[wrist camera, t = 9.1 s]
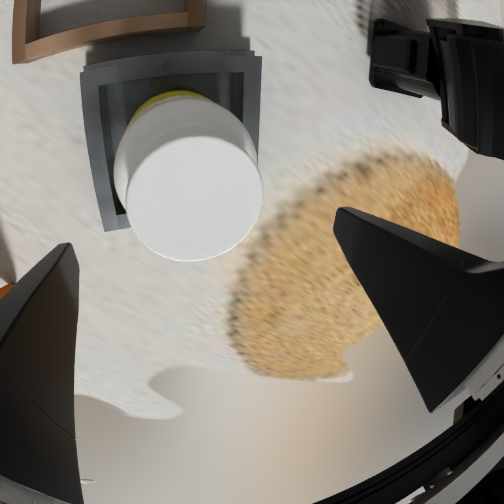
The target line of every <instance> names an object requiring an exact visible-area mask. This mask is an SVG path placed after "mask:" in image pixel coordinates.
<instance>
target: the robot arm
mask: <svg viewBox="0 0 504 504" xmlns="http://www.w3.org/2000/svg"><path fill="white" fill-rule="evenodd" d="M380 22H381V24H382V25H380ZM426 22H427V26H429V29H430V32H421V31H413V30H410V29H408V28H405V27H403V26H401V25H398V24H395V23H393V22H390V21H388V20H385V19H381V18H379V19H376V20H375V26H374V43H373V56H372V68H371V78H370V84H371V86H372V87H374V88H379V89H384V90H388V91H393V92H397V93H401V94H406V95H410V96H414V97H417V98H422V97H423V96H427V97H430V98H433V99H436V100H439V101H441V108H442V119H441V123H442V126H443V127H444V128H445V129H447V130H448V131H449V132H450V133H452V134H453V135H454V136H455V137H456V138H457V139H458V140H459V141H460V142H462V143H464V144H465V145H466V146H467V147H468V148H470V149H471V150H473V151H474V152H475V153H477V154H481V155H485V156H489V157H496V158H499V159H502V160H504V28H502V27H499V26H496V25H493V24H489V23H486V22H481V21H474V20H466V19H426ZM376 80H377V84H376V83H375V82H376ZM333 232H334V235H335V237H336V239H337V241H338V243H339V245H340V247H341V249H342V251H343V253H344V255H345V257H346V259H347V261H348V263H349V265H350V267H351V269H352V270H353V272H354V274H355V275H356V277H357V279H358V280H359V282H360V283H361V285H362V287H363V289H364V290H365V292H366V294H367V295H368V297H369V299H370V300H371V302H372V304H373V306H374V307H375V309H376V311H377V313H378V314H379V316H380V318H381V320H382V321H383V323H384V325H385V327H386V329H387V330H388V332H389V334H390V336H391V338H392V339H393V341H394V343H395V345H396V347H397V349H398V351H399V352H400V354H401V356H402V358H403V360H404V362H405V364H406V366H407V368H408V370H409V372H410V374H411V376H412V378H413V380H414V382H415V384H416V386H417V388H418V390H419V392H420V394H421V396H422V398H423V400H424V403H425V405H426V407H427V409H428V411H429V412H430V413H433V412H434V411H436V410H437V409H438V408H440V407H441V406H442V405H444V404H446V403H447V402H448V401H450V400H451V399H453V398H454V397H455V396H457V395H458V394H459V393H460V392H462V391H463V390H465V389H466V388H467V390H468V391H469V393H470V394H471V396H470V397H469V398H468V399H466V400H465V401H464V402H463V403H462V404H461V405H459V406H458V407H457V408H456V409H455V413H454V421H453V425H452V426H451V427H450V428H448V429H447V430H446V431H444V432H443V433H442V434H441V435H439V436H438V437H436V438H435V439H433V440H432V441H431V442H429V443H428V444H426V445H425V446H423V447H422V448H420V449H419V450H417V451H416V452H414V453H413V454H411V455H409V456H408V457H407V458H405V459H403V460H401V461H400V462H398V463H396V464H395V465H393V466H391V467H389V468H388V469H386V470H384V471H382V472H381V473H379V474H377V475H375V476H373V477H371V478H369V479H367V480H365V481H363V482H361V483H359V484H357V485H355V486H353V487H351V488H349V489H346V490H344V491H342V492H340V493H338V494H335V495H333V496H331V497H328V498H326V499H323V500H321V501H318V502H316V503H313V504H395V503H397V502H399V501H400V500H401V499H403V498H405V497H406V496H408V495H410V494H411V493H413V492H414V491H416V490H417V489H419V488H420V487H421V486H423V487H424V489H425V492H423V493H422V494H419V495H417V496H415V497H414V498H412V499H411V501H412V502H411V503H409V504H504V261H503V262H493V261H489V260H486V259H483V258H481V257H478V256H476V255H473V254H471V253H468V252H465V251H463V250H460V249H458V248H455V247H453V246H450V245H448V244H445V243H443V242H441V241H438V240H436V239H433V238H430V237H428V236H426V235H423V234H421V233H418V232H416V231H413V230H411V229H408V228H406V227H403V226H401V225H398V224H395V223H393V222H390V221H387V220H385V219H382V218H379V217H377V216H374V215H371V214H368V213H366V212H363V211H360V210H357V209H354V208H351V207H339V208H338V209H337V211H336V216H335V221H334V226H333ZM79 272H80V270H79V264H78V261H77V258H76V255H75V252H74V249H73V246H72V244H71V243H62V244H59V245H57V246H56V247H55V248H54V249H53V250H52V251H51V252H49V253H48V254H47V255H46V256H45V257H44V258H43V259H42V260H40V261H39V262H38V263H37V264H36V265H35V266H34V267H33V268H32V269H31V270H30V271H29V272H27V273H26V274H25V275H24V276H23V277H22V278H21V279H20V280H19V281H18V282H17V283H16V284H15V285H14V286H13V287H12V288H11V289H10V290H9V291H8V292H7V293H6V294H5V295H4V296H3V297H2V298H1V299H0V504H84V501H83V495H82V489H81V482H80V475H79V468H78V459H77V448H76V440H75V438H76V437H75V419H74V365H75V346H76V333H77V322H78V311H79Z"/></svg>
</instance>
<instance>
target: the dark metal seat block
mask: <svg viewBox="0 0 504 504" xmlns="http://www.w3.org/2000/svg"><path fill="white" fill-rule="evenodd" d="M254 53H255V51H249V50H201V51H182V52H169V53H158V54H149V55H142V56H134V57H128V58H121V59H116V60H110V61H105V62H100V63H95V64H90V65H86V66H83V67H84V72H80V84H81V97H82V108H83V117H84V126H85V133H86V141H87V147H88V154H89V160H90V166H91V171H92V177H93V182H94V187H95V192H96V197H97V201H98V206H99V210H100V214H101V219H102V223H103V227H104V231H105V232H106V231H112V230H118V229H125V228H131V226H130V223H129V220H128V217H127V213H126V210H125V208H124V207H123V205H122V203H121V201H120V199H119V197H118V194H117V192H116V188H115V183H114V162H115V157H116V152H117V149H118V146H119V143H120V141H121V139H122V137H123V135H124V133H125V130H126V128H127V126H128V124H129V122H130V120H131V119H132V117H133V115H134V113H135V112H136V111H137V109H138V108H139V107H140V106H141V105H142V104H143V103H144V102H145V101H146V100H147V99H149V98H150V97H152V96H153V95H155V94H157V93H160V92H163V91H166V90H172V89H184V90H190V91H194V92H196V93H199V94H201V95H203V96H205V97H206V98H208V99H210V100H211V101H213V102H215V103H217V104H218V105H220V106H222V107H223V108H225V109H226V110H228V111H229V112H231V113H232V114H233V115H234V116H235V117H237V118H238V119H239V121H240V122H241V123H242V124H243V125H244V126H245V128H246V129H247V131H248V132H249V134H250V136H251V138H252V141H253V143H254V146H255V150H256V153H257V167H258V143H259V119H260V94H261V69H262V56H254Z"/></svg>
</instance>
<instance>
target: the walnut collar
mask: <svg viewBox="0 0 504 504" xmlns="http://www.w3.org/2000/svg"><path fill="white" fill-rule="evenodd" d="M205 6H206V0H185V8H184V12H179V13H164V14H154V15H145V16H137V17H130V18H123V19H117V20H112V21H107V22H102V23H97V24H92V25H88V26H84V27H80V28H76V29H72V30H68V31H65V32H61V33H58V34H55V35H51V36H48V37H45V38H42V39H39V28H40V7H41V0H14V10H13V27H12V64H21V63H29V62H32V61H35V60H38V59H41V58H44V57H47V56H50V55H53V54H57V53H60V52H64V51H67V50H71V49H75V48H79V47H83V46H87V45H91V44H96V43H101V42H106V41H111V40H117V39H123V38H129V37H136V36H143V35H152V34H162V33H174V32H191V31H200V30H201V29H202V28H203V27H205Z"/></svg>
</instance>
